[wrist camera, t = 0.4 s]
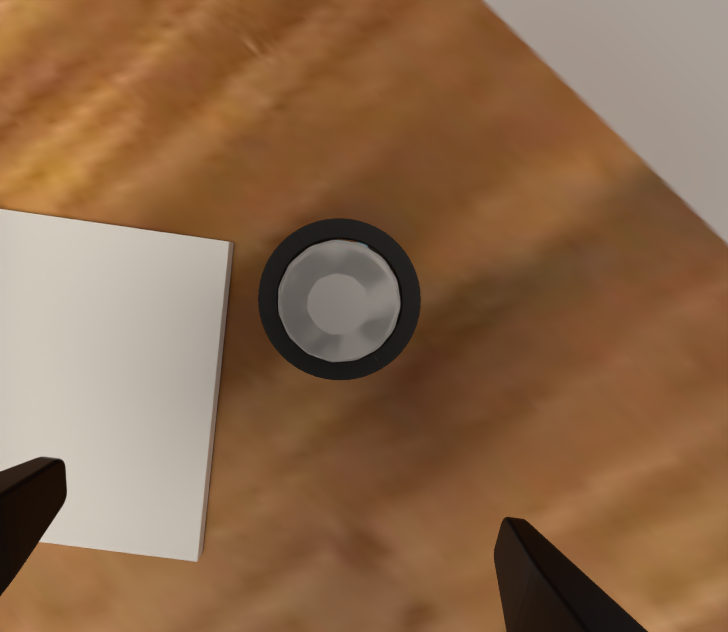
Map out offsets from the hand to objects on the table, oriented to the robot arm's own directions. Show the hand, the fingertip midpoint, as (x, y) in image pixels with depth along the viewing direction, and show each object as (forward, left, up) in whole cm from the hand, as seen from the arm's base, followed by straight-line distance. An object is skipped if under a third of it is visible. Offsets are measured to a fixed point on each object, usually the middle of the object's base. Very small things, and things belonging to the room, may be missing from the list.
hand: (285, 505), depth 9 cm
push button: (+3, 0, -15) cm, 15 cm away
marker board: (-4, +13, -15) cm, 20 cm away
